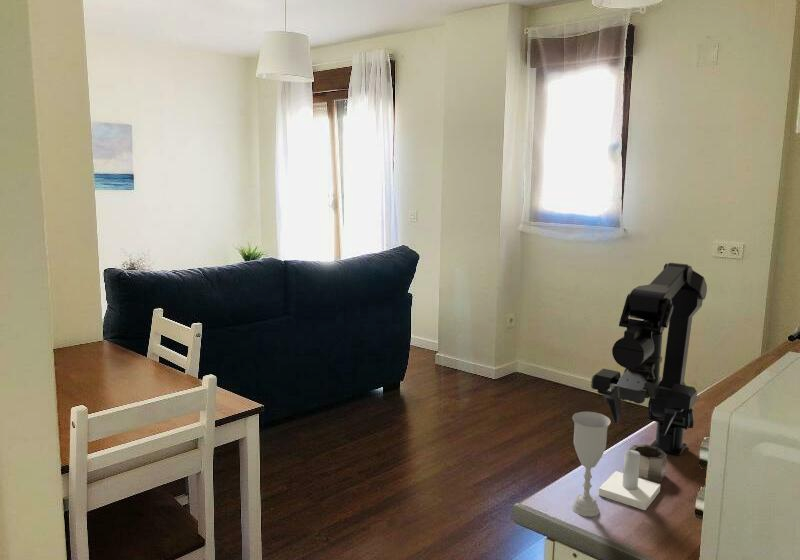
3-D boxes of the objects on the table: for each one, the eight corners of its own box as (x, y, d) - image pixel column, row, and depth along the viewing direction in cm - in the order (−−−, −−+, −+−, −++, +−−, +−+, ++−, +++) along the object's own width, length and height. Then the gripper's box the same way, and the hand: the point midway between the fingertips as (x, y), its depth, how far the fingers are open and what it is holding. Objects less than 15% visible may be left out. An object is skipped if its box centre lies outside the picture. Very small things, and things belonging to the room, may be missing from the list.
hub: (634, 463, 140) (636, 441, 139) (667, 472, 136) (669, 450, 135) (623, 475, 135) (625, 453, 134) (657, 485, 131) (659, 462, 130)
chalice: (606, 521, 118) (613, 429, 114) (567, 517, 119) (573, 425, 116) (602, 501, 125) (608, 413, 121) (566, 497, 126) (571, 410, 123)
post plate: (615, 477, 134) (617, 439, 132) (659, 491, 128) (663, 451, 127) (598, 495, 127) (601, 454, 125) (645, 510, 121) (648, 468, 120)
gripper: (582, 355, 124) (578, 430, 127) (684, 375, 113) (677, 458, 116) (603, 341, 133) (599, 412, 136) (700, 358, 121) (694, 435, 125)
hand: (639, 428), depth 128 cm, fingers open, 9 cm apart
